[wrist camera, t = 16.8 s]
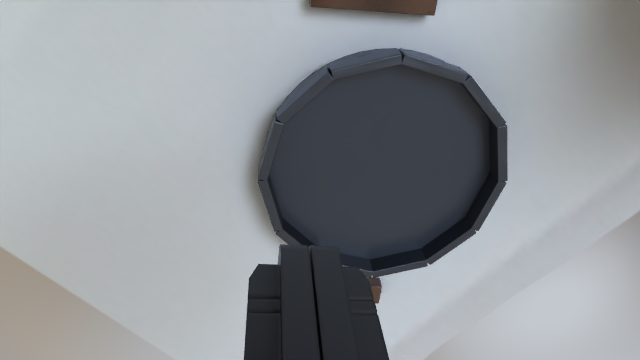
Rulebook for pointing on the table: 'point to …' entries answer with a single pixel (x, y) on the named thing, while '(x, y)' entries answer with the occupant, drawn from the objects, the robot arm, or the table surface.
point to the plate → (384, 160)
